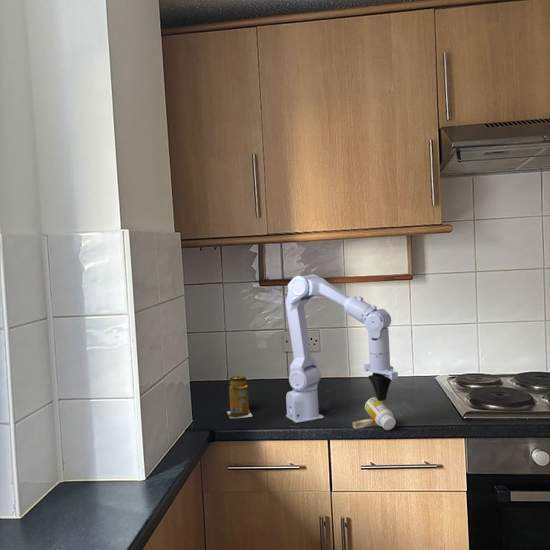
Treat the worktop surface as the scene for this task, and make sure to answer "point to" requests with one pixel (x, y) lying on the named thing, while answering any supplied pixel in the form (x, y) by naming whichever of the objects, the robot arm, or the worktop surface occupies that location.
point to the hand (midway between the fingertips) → (381, 400)
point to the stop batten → (364, 423)
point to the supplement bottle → (380, 413)
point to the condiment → (238, 398)
